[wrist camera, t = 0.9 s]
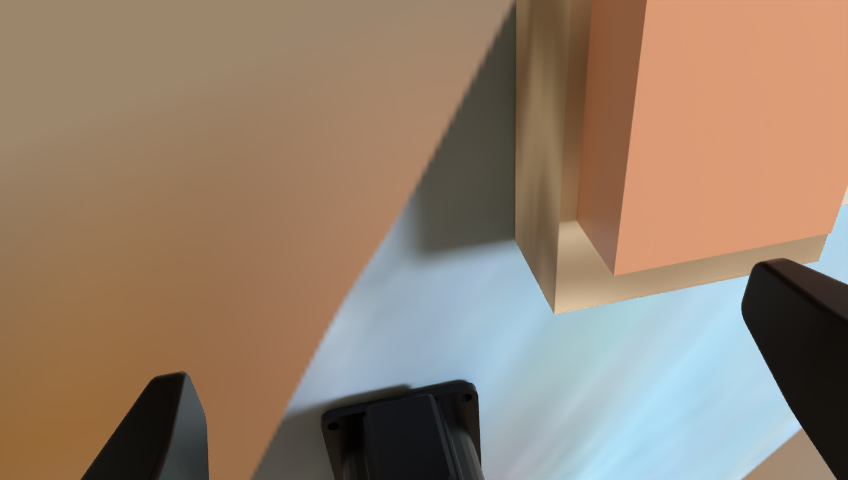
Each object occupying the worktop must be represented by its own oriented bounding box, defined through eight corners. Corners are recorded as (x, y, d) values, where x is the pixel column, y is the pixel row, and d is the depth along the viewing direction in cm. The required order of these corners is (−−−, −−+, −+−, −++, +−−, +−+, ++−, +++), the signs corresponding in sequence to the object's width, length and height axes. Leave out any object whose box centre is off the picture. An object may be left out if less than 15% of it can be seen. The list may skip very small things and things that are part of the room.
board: (747, 195, 25) (818, 261, 22) (515, 239, 24) (554, 314, 21) (894, -384, 16) (1059, -417, 12) (518, -353, 14) (591, -378, 11)
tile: (773, 183, 20) (830, 233, 18) (576, 220, 19) (613, 276, 17) (873, -178, 14) (973, -165, 12) (602, -145, 14) (662, -125, 12)
